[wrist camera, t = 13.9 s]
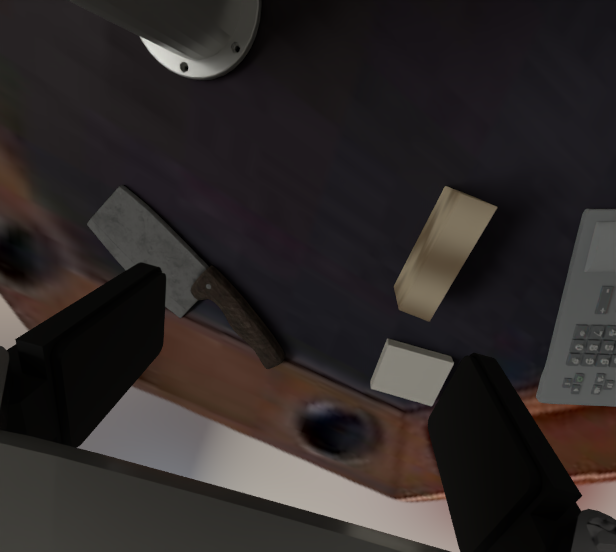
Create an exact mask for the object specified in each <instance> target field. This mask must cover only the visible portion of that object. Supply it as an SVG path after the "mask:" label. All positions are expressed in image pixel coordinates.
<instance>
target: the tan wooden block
mask: <svg viewBox="0 0 616 552" xmlns="http://www.w3.org/2000/svg"><path fill="white" fill-rule="evenodd" d="M496 209H497V207H496V206H494V205H492V204H489V203H487V202H485V201H483V200H480V199H478V198H476V197H473V196H471V195H468V194H465V193H463V192H460V191H457V190H455V189H452V188H450V187H447V186H445V188H444V189H443V191H442V193H441V195H440V197H439V199H438V201H437V203H436V205H435V207H434V209H433V211H432V213H431V215H430V217H429V219H428V221H427V223H426V225H425V227H424V228H423V230H422V232H421V234H420V236H419V238H418V240H417V242H416V244H415V246H414V248H413V250H412V252H411V254H410V256H409V258H408V260H407V262H406V264H405V266H404V267H403V269H402V271H401V273H400V275H399V277H398V279H397V281H396V283H395V285H394V289H395V294H396V298H397V303H398V307H399V310H401V311H404V312H406V313H409V314H411V315H414V316H416V317H419V318H422V319H424V320H427V321H430V320H431V318H432V316H433V315H434V313H435V311H436V310H437V308H438V306H439V305H440V303H441V301H442V300H443V298H444V296H445V294H446V293H447V291H448V289H449V288H450V286H451V284H452V283H453V281H454V279H455V278H456V276H457V274H458V273H459V271H460V269H461V268H462V266H463V264H464V263H465V261H466V259H467V258H468V256H469V254H470V253H471V251H472V249H473V248H474V246H475V244H476V243H477V241H478V239H479V237H480V236H481V234H482V232H483V231H484V229H485V227H486V226H487V224H488V222H489V221H490V219H491V217H492V216H493V214H494V212H495V211H496Z"/></svg>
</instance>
